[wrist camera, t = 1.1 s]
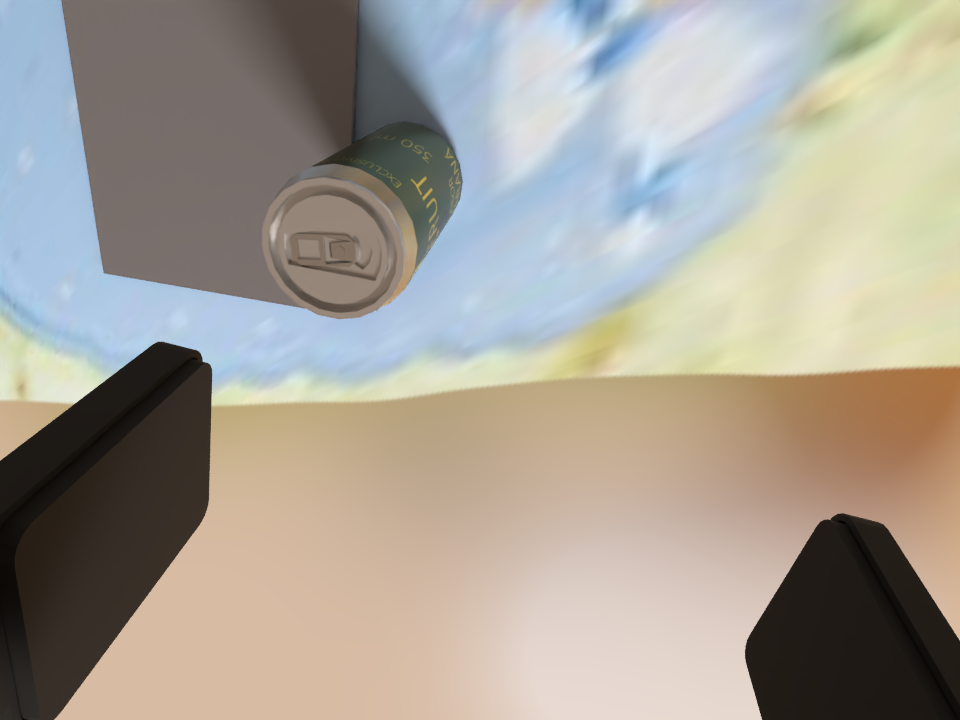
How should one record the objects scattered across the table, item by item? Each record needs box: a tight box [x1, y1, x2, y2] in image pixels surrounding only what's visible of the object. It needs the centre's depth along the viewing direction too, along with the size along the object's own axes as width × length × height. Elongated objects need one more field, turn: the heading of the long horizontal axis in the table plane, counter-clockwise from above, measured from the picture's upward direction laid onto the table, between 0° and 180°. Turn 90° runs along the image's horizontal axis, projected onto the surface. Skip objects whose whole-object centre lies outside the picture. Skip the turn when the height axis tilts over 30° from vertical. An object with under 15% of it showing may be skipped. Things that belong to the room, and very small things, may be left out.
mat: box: [62, 0, 359, 308], centre depth 33 cm, size 14×16×1 cm
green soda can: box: [262, 122, 463, 319], centre depth 27 cm, size 5×5×12 cm
